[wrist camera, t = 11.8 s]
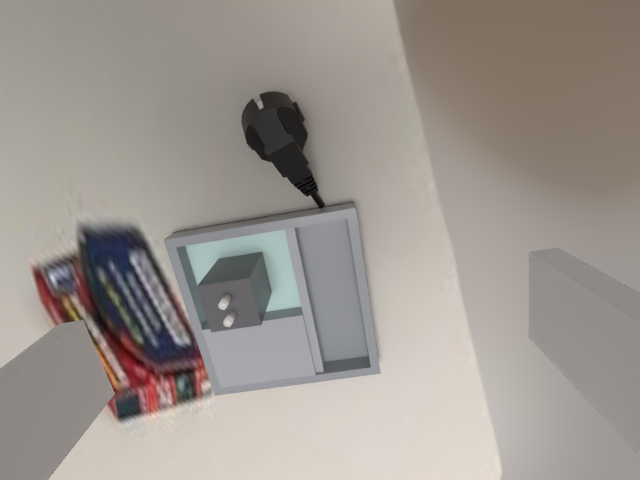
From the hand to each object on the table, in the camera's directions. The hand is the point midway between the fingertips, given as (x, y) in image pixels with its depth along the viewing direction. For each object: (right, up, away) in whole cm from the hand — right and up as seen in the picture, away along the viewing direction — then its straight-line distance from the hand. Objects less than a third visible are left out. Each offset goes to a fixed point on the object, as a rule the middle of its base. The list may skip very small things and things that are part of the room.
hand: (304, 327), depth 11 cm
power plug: (-2, +11, +27) cm, 29 cm away
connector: (-8, -1, +30) cm, 31 cm away
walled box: (-4, -4, +32) cm, 32 cm away
